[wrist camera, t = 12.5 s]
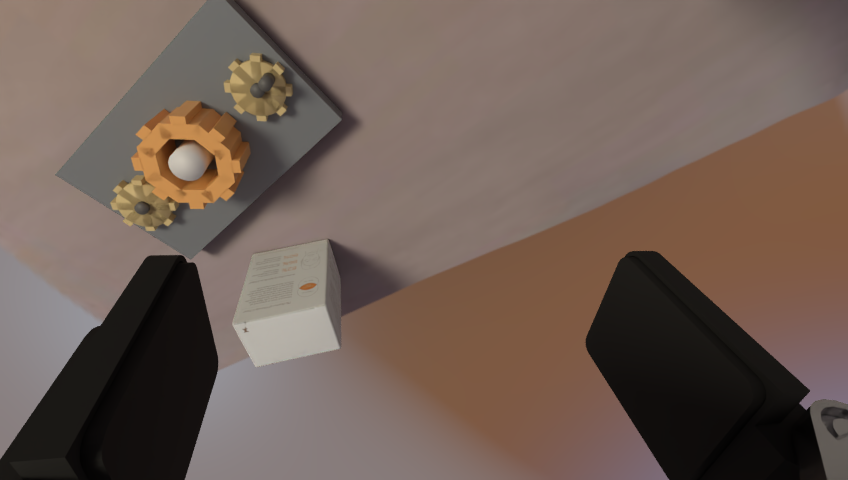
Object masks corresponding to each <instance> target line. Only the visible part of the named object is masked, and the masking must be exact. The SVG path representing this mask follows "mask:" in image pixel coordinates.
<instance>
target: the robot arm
mask: <svg viewBox="0 0 848 480" xmlns="http://www.w3.org/2000/svg"><path fill="white" fill-rule="evenodd" d="M586 348H587V351H588V353H589V354H590V356H591V357H592V359H593V360H594V362H595V364H596V365H597V367H598V368H599V370H600V372H601V373H602V375H603V376H604V378H605V380H606V381H607V383H608V384H609V386H610V387H611V389H612V391H613V392H614V394H615V395H616V397H617V398H618V400H619V401H620V403H621V405H622V406H623V408H624V410H625V411H626V413H627V414H628V416H629V417H630V419H631V420H632V422H633V424H634V425H635V427H636V428H637V430H638V431H639V433H640V435H641V436H642V438H643V439H644V441H645V442H646V444H647V446H648V447H649V449H650V450H651V452H652V453H653V455H654V457H655V458H656V460H657V461H658V463H659V465H660V466H661V468H662V469H663V471H664V472H665V474H666V475H667V477H668V478H669V480H848V404H844V403H841V402H838V401H834V400H826V399H823V400H818V401H815V402H814V403H813V404H812V405H811V406H810V407H809V408H808V409H807V410H805V409H804V408H803V407H802V406H801V405H800V404H799V403H800V401H801V400H802V399H803V398H804V397H805V396H806V395H807V394H808V393H809V392H810V390H809V389H808V388H807V387H806V386H804V385H803V384H802V383H801V382H800V381H799V380H798V379H797V378H796V377H795V376H793V375H792V374H791V373H790V372H789V371H788V370H787V369H786V368H785V367H784V366H782V365H781V364H780V363H779V362H778V361H777V360H776V359H775V358H774V357H773V356H772V355H770V354H769V353H768V352H767V351H766V350H765V349H764V348H763V347H762V346H761V345H759V344H758V343H757V342H756V341H755V340H754V339H753V338H752V337H751V336H750V335H748V334H747V333H746V332H745V331H744V330H743V329H742V328H741V327H740V326H738V325H737V324H736V323H735V322H734V321H733V320H732V319H731V318H730V317H729V316H728V315H726V314H725V313H724V312H723V311H722V310H721V309H720V308H719V307H718V306H716V305H715V304H714V303H713V302H712V301H711V300H710V299H709V298H708V297H707V296H706V295H704V294H703V293H702V292H701V291H700V290H699V289H698V288H697V287H695V285H693V284H692V283H691V282H690V281H689V280H688V279H687V278H686V277H685V276H683V275H682V274H681V273H680V272H679V271H678V270H677V269H676V268H675V267H674V266H672V265H671V264H670V263H669V262H668V261H667V260H666V259H665V258H664V257H663V256H662V255H660V254H659V253H657V252H655V251H632V252H629V253H628V254H626V256H625V257H624V258H622V259H621V260H620V261H619V263H618V265H617V267H616V270H615V272H614V274H613V277H612V279H611V281H610V284H609V286H608V288H607V291H606V293H605V295H604V298H603V300H602V302H601V304H600V307H599V309H598V312H597V314H596V316H595V318H594V321H593V323H592V325H591V328H590V330H589V332H588V335H587V338H586ZM217 371H218V355H217V351H216V347H215V343H214V338H213V334H212V330H211V325H210V321H209V317H208V313H207V308H206V304H205V300H204V295H203V291H202V287H201V283H200V278H199V274H198V270H197V267H196V265H195V263H187V261H186V259H185V258H184V256H182V255H154V256H148V257H147V258H146V259H145V260H144V261H143V263H142V264H141V266H140V267H139V269H138V270H137V272H136V273H135V275H134V276H133V278H132V279H131V281H130V282H129V284H128V285H127V287H126V288H125V290H124V291H123V293H122V294H121V296H120V297H119V299H118V300H117V302H116V303H115V305H114V306H113V308H112V309H111V311H110V312H109V314H108V315H107V317H106V318H105V320H104V321H103V323H102V324H101V326H97V327H95V328H93V329H92V330H91V331H90V332H89V333H88V334H87V335H86V336H85V338H84V339H83V341H82V342H81V343H80V345H79V346H78V348H77V349H76V351H75V352H74V353H73V355H72V357H71V358H70V359H69V361H68V362H67V364H66V365H65V367H64V368H63V369H62V371H61V372H60V374H59V375H58V377H57V378H56V380H55V381H54V382H53V384H52V386H51V387H50V388H49V390H48V391H47V393H46V394H45V396H44V397H43V399H42V400H41V401H40V403H39V404H38V406H37V407H36V409H35V410H34V412H33V413H32V414H31V416H30V417H29V419H28V420H27V422H26V423H25V425H24V426H23V427H22V429H21V430H20V432H19V433H18V435H17V436H16V438H15V439H14V441H13V442H12V443H11V445H10V446H9V448H8V449H7V451H6V452H5V454H4V455H3V456H2V458H1V459H0V480H185V477H186V473H187V470H188V467H189V464H190V461H191V457H192V454H193V451H194V447H195V444H196V441H197V437H198V434H199V431H200V428H201V425H202V421H203V418H204V414H205V411H206V408H207V405H208V402H209V398H210V395H211V392H212V388H213V385H214V382H215V379H216V375H217Z"/></svg>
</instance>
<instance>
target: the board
mask: <svg viewBox="0 0 848 480" xmlns="http://www.w3.org/2000/svg"><path fill="white" fill-rule="evenodd" d="M186 101H201V105H202V108H205V109H214V110H215V111H216V112H217V113H218V114H219V115H221V116H222V115H223V114H224V113H225V112H227V113H228V114H229V115H231V116H232V117H233V118H234V119H235V120H236V121H237V122H236V123H235V124H234V127H235V128H236V129H237V130H238V131H240V132H241V138H242V142H249V145H250V153H251V154H250V156H249V158H248V160H247V162H246V164H245V166H244V168H243V170H242V171H243V172H244V174H243V176H242V178H241V180H240V182H239V185H238V187H237V189H236V191H235V193H234V194H233V195H232V196H231V197H230V198H229V199H228V200H227V201H225V200H224V199H223V198H221V197H219V198H218V199H217V200H216V201H215V202H214V203H207V205H206V207H205V208H204V209H190V205H189V203H178V202H176V201H175V200H173V199H172V198H170V197H169V196H168V197H167V198H166V199H165V200H162V199H161V198H159V197H158V196H156V195H155V194H154V193H152V191H153V190H154V188H155V187H154V186H153V185H151V184H150V183H149V182H147V181H146V180H145V176H144V173H143V171H135V170H134V167H133V163H132V160H131V157H132V156H133V155H134V154H135V153H136V152H138V151H137V148H136V147H137V146H138V145H139V144H140V143H141V142H142V141H143V140H142V139H141V138H139V137H138V136H137V135H135V134H136V133H137V132H138V131H139V130H140V129H141V128H142V127H143V126H144V125H145V124H146V123H147V122H148V121H150V120H151V119H152V118H153V117H155V116H156V115H157V114H158V113H159V112H161V111H162V110H163V109H165V110H167V111H168V112H169V113H171V112H172V111H173V110H174V109H175V108H176V107H180V106H181V105H182V104H183V103H184V102H186ZM341 120H342V112H341V111H340V110H339V109H338V108H337V107H336V106H335V105H334V104H333V103H332V102H331V101H330V100H329V99H328V98H327V97H326V96H325V94H324V93H323V92H322V91H321V90H320V89H319V88H318V87H317V86H316V85H315V84H314V83H313V82H312V81H311V80H310V79H309V78H308V77H307V76H306V75H305V74H304V73H303V72H302V71H301V70H300V69H299V68H298V67H297V65H296V64H295V63H294V62H293V61H292V60H291V59H290V58H289V57H288V56H287V55H286V54H285V53H284V52H283V51H282V50H281V49H280V48H279V47H278V46H277V45H276V44H275V43H274V42H273V41H272V40H271V39H270V38H269V36H268V35H267V34H266V33H265V32H264V31H263V30H262V29H261V28H260V27H259V26H258V25H257V24H256V23H255V22H254V21H253V20H252V19H251V18H250V17H249V16H248V15H247V14H246V13H245V12H244V11H243V10H242V9H241V8H240V6H239V5H238V4H237V3H236V2H235V1H234V0H207V1H206V2H205V4H204V5H203V6H202V7H201V8H200V9H199V11H198V12H197V13H196V14H195V15H194V16H193V17H192V19H191V20H190V21H189V22H188V23H187V24H186V25H185V27H184V28H183V29H182V30H181V31H180V32H179V33H178V35H177V36H176V37H175V38H174V39H173V40H172V41H171V43H170V44H169V45H168V46H167V47H166V48H165V50H164V51H163V52H162V53H161V54H160V55H159V56H158V58H157V59H156V60H155V61H154V62H153V63H152V64H151V66H150V67H149V68H148V69H147V70H146V71H145V72H144V74H143V75H142V76H141V77H140V78H139V79H138V80H137V82H136V83H135V84H134V85H133V86H132V87H131V88H130V90H129V91H128V92H127V93H126V94H125V95H124V97H123V98H122V99H121V100H120V101H119V102H118V103H117V105H116V106H115V107H114V108H113V109H112V110H111V111H110V113H109V114H108V115H107V116H106V117H105V118H104V119H103V121H102V122H101V123H100V124H99V125H98V126H97V127H96V129H95V130H94V131H93V132H92V133H91V134H90V135H89V137H88V138H87V139H86V140H85V141H84V142H83V144H82V145H81V146H80V147H79V148H78V149H77V150H76V152H75V153H74V154H73V155H72V156H71V157H70V158H69V160H68V161H67V162H66V163H65V164H64V165H63V166H62V168H61V169H60V170H59V171H58V172H57V173H56V174H55V175H56V176H58V177H59V178H61V179H63V180H64V181H66V182H67V183H69V184H71V185H72V186H74V187H75V188H77V189H79V190H80V191H82V192H83V193H85V194H87V195H88V196H90V197H91V198H93V199H95V200H96V201H98V202H99V203H101V204H103V205H104V206H106V207H107V208H109V209H111V210H112V211H114V212H115V213H117V214H119V215H120V216H122V217H123V218H125V219H124V220H123V222H124V223H126V224H128V225H129V226H131V225H132V224H135V225H136V226H138V227H139V228H141V229H143V230H144V231H146V232H147V233H149V234H151V235H152V236H154V237H155V238H157V239H159V240H160V241H162V242H163V243H165V244H167V245H168V246H170V247H171V248H173V249H175V250H176V251H178V252H179V253H181V254H183V255H184V256H186V257H187V258H189V259H192V258H193V257H194V256H195V255H196V254H198V253H199V252H200V251H201V250H202V249H203V248H204V247H205V246H206V245H207V244H208V243H209V242H210V241H212V240H213V239H214V238H215V237H216V236H217V235H218V234H219V233H220V232H221V231H222V230H223V229H225V228H226V227H227V226H228V225H229V224H230V223H231V222H232V221H233V220H234V219H235V218H236V217H237V216H239V215H240V214H241V213H242V212H243V211H244V210H245V209H246V208H247V207H248V206H249V205H250V204H252V203H253V202H254V201H255V200H256V199H257V198H258V197H259V196H260V195H261V194H262V193H263V192H264V191H266V190H267V189H268V188H269V187H270V186H271V185H272V184H273V183H274V182H275V181H276V180H277V179H279V178H280V177H281V176H282V175H283V174H284V173H285V172H286V171H287V170H288V169H289V168H290V167H291V166H293V165H294V164H295V163H296V162H297V161H298V160H299V159H300V158H301V157H302V156H303V155H304V154H306V153H307V152H308V151H309V150H310V149H311V148H312V147H313V146H314V145H315V144H316V143H317V142H318V141H320V140H321V139H322V138H323V137H324V136H325V135H326V134H327V133H328V132H329V131H330V130H331V129H333V128H334V127H335V126H336V125H337V124H338V123H339V122H340V121H341ZM174 140H175V144H176V148H177V149H176V150H175V151H174V152H173V154H172V155H171V156H170V157H169V160H168V165H169V168H170V170H171V172H172V173H173V174H174V175H175V176H177V177H178V178H180V179H182V180H186V181H194V180H197V179H199V178H200V177H201V176H202V175H203V174H204V172H205V171H206V169H217V165H216V159H215V156H214V155H213V154H212V153H211V152H209V151H208V150H207V149H206V148H204V147H203V146H202V145H200V144H199V143H198V142H197V141H195V140H185V139H174Z"/></svg>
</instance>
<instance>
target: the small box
mask: <svg viewBox="0 0 848 480" xmlns="http://www.w3.org/2000/svg"><path fill="white" fill-rule="evenodd" d="M232 325H233V326H234V328H235V330H236V332H237V334H238V336H239V338H240V340H241V341H242V343H243V345H244V347H245V349H246V350H247V352H248V354H249V356H250V358H251V360H252V361H253V363H254V365H255V367H260V366H264V365H268V364H273V363H277V362H282V361H286V360H291V359H295V358H300V357H305V356H309V355H313V354H318V353H323V352H327V351H332V350H337V349H340V348H341V278H340V275H339V271H338V268H337V265H336V261H335V258H334V255H333V252H332V248H331V245H330V242H329V240H328V239H326V240H321V241H316V242H311V243H306V244H301V245H296V246H291V247H286V248H281V249H276V250H272V251H267V252H262V253H256V254H253V255H252V258H251V262H250V265H249V269H248V272H247V276H246V279H245V283H244V286H243V289H242V293H241V296H240V299H239V303H238V306H237V309H236V313H235V316H234V320H233V323H232Z"/></svg>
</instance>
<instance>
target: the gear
mask: <svg viewBox="0 0 848 480" xmlns="http://www.w3.org/2000/svg"><path fill="white" fill-rule="evenodd" d="M236 122H237V121H236V120H235V119H234V118H233V117H232V116H231V115H229V114H228V113H227V112H225V113H224V114H223V115H222V116H221V115H219V114H218V113H217V112H216V111H215V110H214V109H205V108H202V105H201V101H186V102H184V103H183V104H182V105H181V106H180V107H176V108H175V109H174V110H173V111H172V112H171V113H169V112H168V111H167V110H165V109H163V110H162V111H161V112H159V113H158V114H157V115H156V116H155V117H153V118H152V119H151V120H150V121H148V122H147V123H146V124H145V125H144V126H143V127H142V128H141V129H140V130H139V131H138V132H137V133H136V134H135V135H137V136H138V137H139V138H141V139H142V140H143V141H142V142H141V143H140V144H139V145H138V146H137V147H136V148H137V151H138V152H136V153H135V154H134V155H133V156H132V157H131V160H132V163H133V167H134V170H135V171H143V173H144V176H145V180H146V181H147V182H149V183H150V184H151V185H153V186H154V187H155V188H154V190H153V191H152V193H154V194H155V195H156V196H158V197H159V198H161V199H162V200H165V199H166V198H167V197H168V196H169V197H170V198H172V199H173V200H175V201H176V202H178V203H189V205H190V209H204V208H205V207H206V205H207V203H214V202H215V201H216V200H217V199H218V198H219V197H221V198H223V199H224V200H225V201H227V200H228V199H229V198H230V197H231V196H232V195H233V194H234V193H235V191H236V189H237V187H238V185H239V182H240V180H241V178H242V176H243V174H244V172H243V171H242V170H243V168H244V166H245V164H246V162H247V160H248V158H249V156H250V154H251V153H250V145H249V142H242V138H241V132H240V131H238V130H237V129H236V128H235V127H234V124H235V123H236ZM174 139H185V140H195V141H197V142H198V143H199V144H200V145H202V146H203V147H204V148H206V149H207V150H208V151H209V152H211V153H212V154H213V155H214V156H215V159H216V165H217V169H206V171H205V172H204V174H203V175H202V176H201V177H200V178H199V179H197V180H194V181H186V180H182V179H180V178H178V177H177V176H175V175H174V174H173V173H172V172H171V170H170V168H169V165H168V160H169V157H170V156H171V155H172V154H173V152H174V151H175V150H176V149H177V148H176V144H175V140H174Z"/></svg>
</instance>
